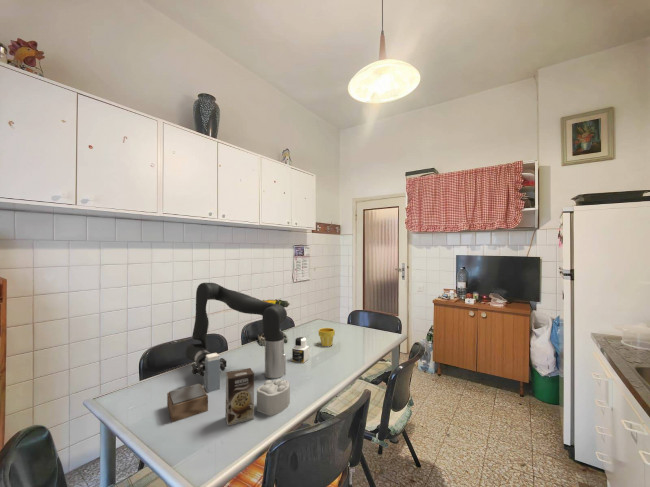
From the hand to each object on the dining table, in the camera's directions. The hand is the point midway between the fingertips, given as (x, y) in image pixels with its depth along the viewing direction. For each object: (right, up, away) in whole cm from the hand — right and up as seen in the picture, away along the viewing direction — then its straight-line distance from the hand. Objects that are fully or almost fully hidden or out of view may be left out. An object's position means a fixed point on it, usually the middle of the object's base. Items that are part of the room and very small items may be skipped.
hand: (213, 371), depth 122 cm
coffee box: (+18, -7, -21) cm, 29 cm away
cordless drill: (+14, -10, +67) cm, 69 cm away
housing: (-1, -8, +1) cm, 8 cm away
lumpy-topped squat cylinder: (+29, -8, -13) cm, 33 cm away
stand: (-4, -8, -15) cm, 17 cm away
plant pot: (+50, -10, +57) cm, 76 cm away
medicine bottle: (+35, -9, +33) cm, 49 cm away
